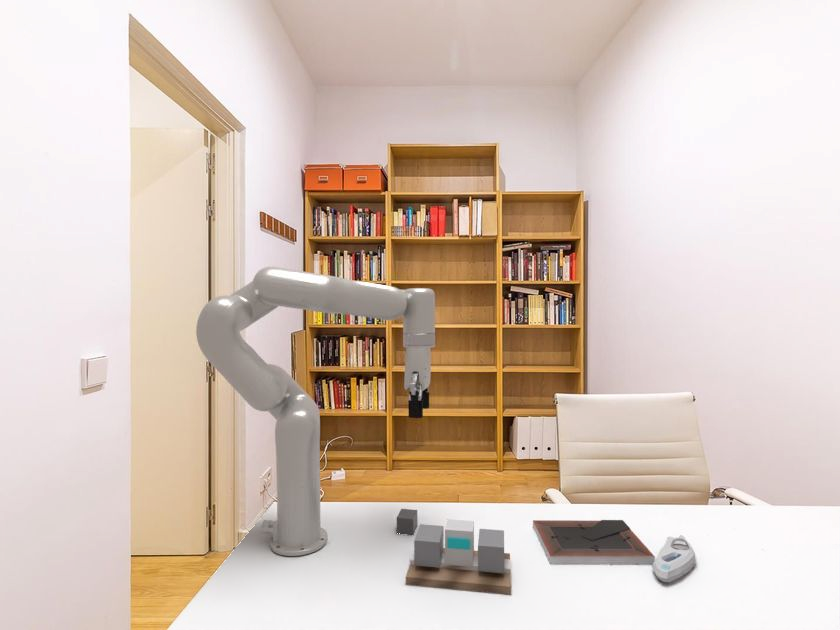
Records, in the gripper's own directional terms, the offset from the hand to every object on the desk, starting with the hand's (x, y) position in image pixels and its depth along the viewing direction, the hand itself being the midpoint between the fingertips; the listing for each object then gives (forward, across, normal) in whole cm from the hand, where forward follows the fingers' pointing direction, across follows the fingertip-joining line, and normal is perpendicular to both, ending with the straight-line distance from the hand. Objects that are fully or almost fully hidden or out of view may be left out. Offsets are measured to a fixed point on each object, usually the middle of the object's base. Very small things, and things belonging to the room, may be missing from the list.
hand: (419, 412), depth 114 cm
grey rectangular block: (+28, 0, -3) cm, 29 cm away
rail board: (+28, +16, +11) cm, 34 cm away
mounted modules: (+26, +16, +11) cm, 32 cm away
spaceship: (+29, +4, +54) cm, 62 cm away
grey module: (+26, +16, +11) cm, 32 cm away
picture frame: (+29, 0, +39) cm, 48 cm away
